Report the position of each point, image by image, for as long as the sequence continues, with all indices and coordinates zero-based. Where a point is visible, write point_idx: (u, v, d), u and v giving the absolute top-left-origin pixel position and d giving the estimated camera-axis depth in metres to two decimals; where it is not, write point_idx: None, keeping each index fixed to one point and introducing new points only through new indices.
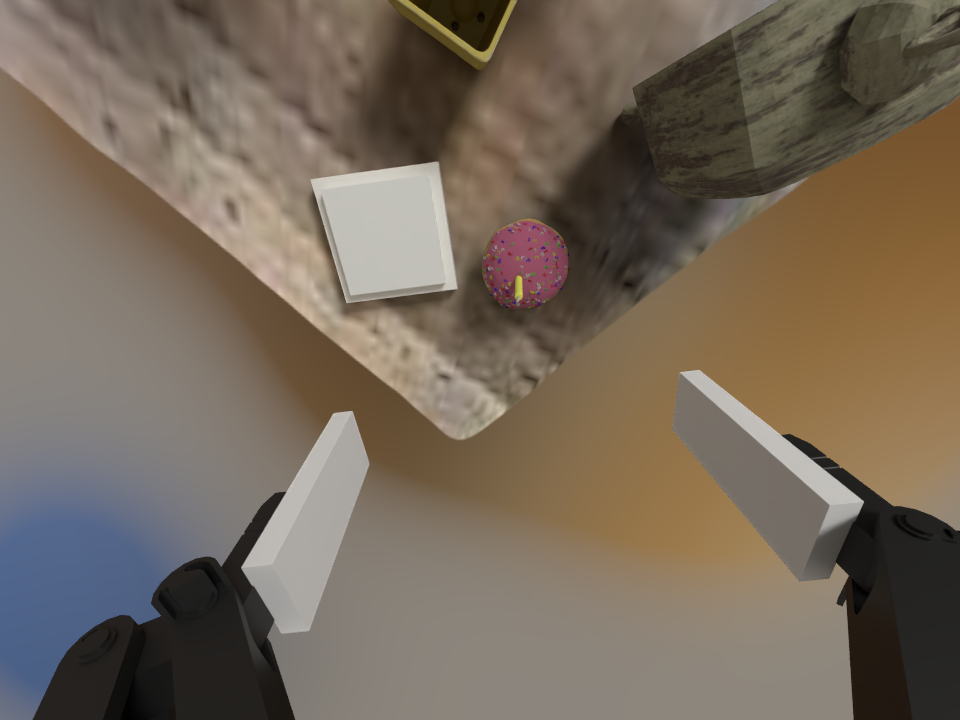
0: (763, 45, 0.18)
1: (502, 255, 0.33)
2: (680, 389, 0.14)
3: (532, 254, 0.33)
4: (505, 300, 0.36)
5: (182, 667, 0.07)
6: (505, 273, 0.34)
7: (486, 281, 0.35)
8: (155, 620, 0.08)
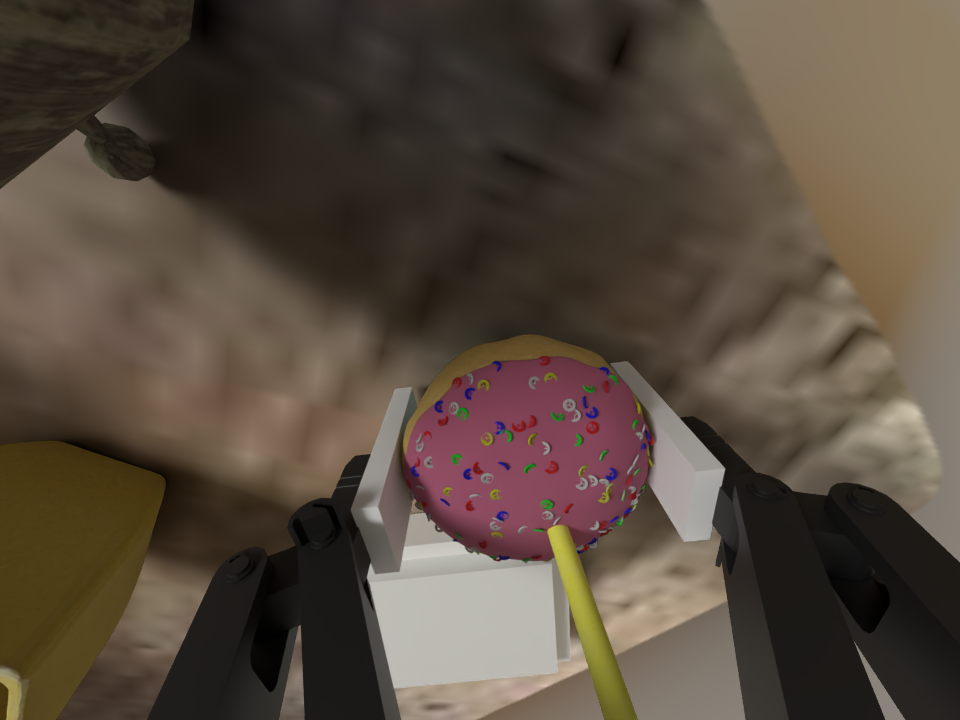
0: None
1: (489, 552, 0.12)
2: None
3: (484, 502, 0.11)
4: (616, 522, 0.13)
5: (306, 587, 0.08)
6: (538, 552, 0.12)
7: None
8: (277, 554, 0.10)
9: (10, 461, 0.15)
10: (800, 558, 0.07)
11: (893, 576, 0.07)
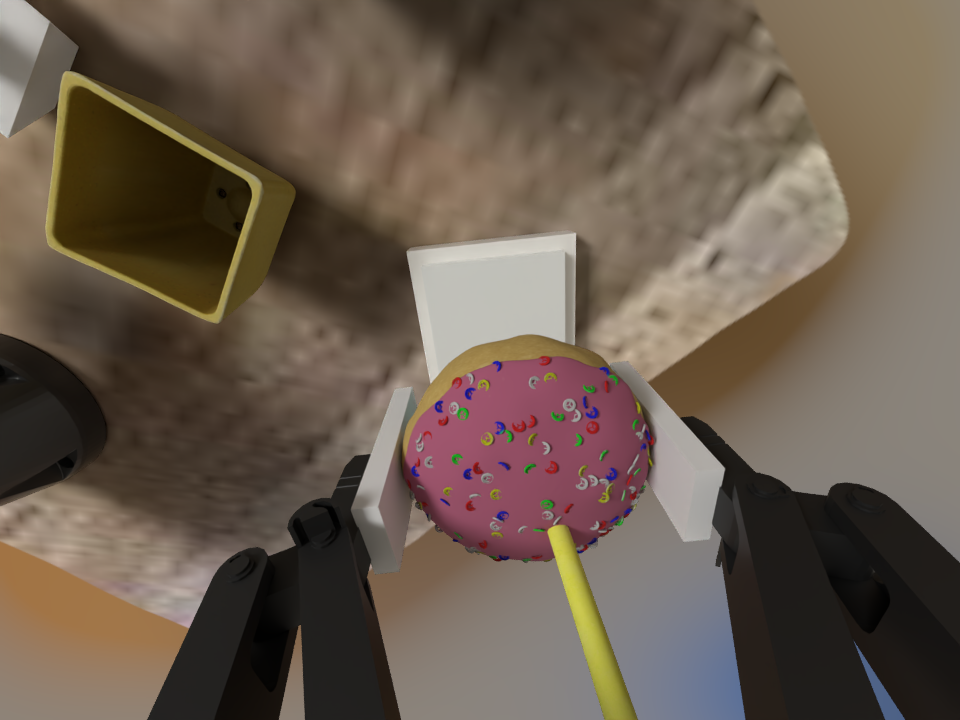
0: None
1: (489, 552, 0.12)
2: None
3: (484, 502, 0.11)
4: (616, 522, 0.13)
5: (306, 587, 0.08)
6: (538, 552, 0.12)
7: None
8: (277, 554, 0.10)
9: None
10: (800, 558, 0.07)
11: (893, 576, 0.07)
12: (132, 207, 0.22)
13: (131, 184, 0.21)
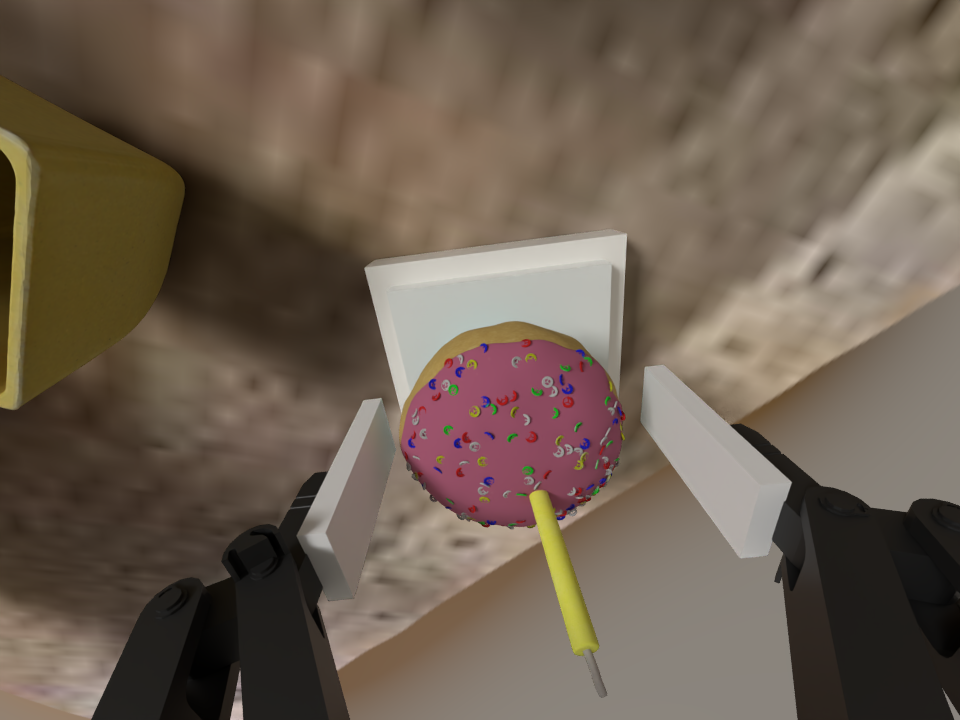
0: None
1: (478, 517, 0.13)
2: (646, 383, 0.15)
3: (472, 469, 0.12)
4: (593, 492, 0.14)
5: (246, 623, 0.08)
6: (522, 516, 0.13)
7: None
8: (218, 584, 0.09)
9: (15, 83, 0.13)
10: (877, 580, 0.07)
11: None
12: None
13: None
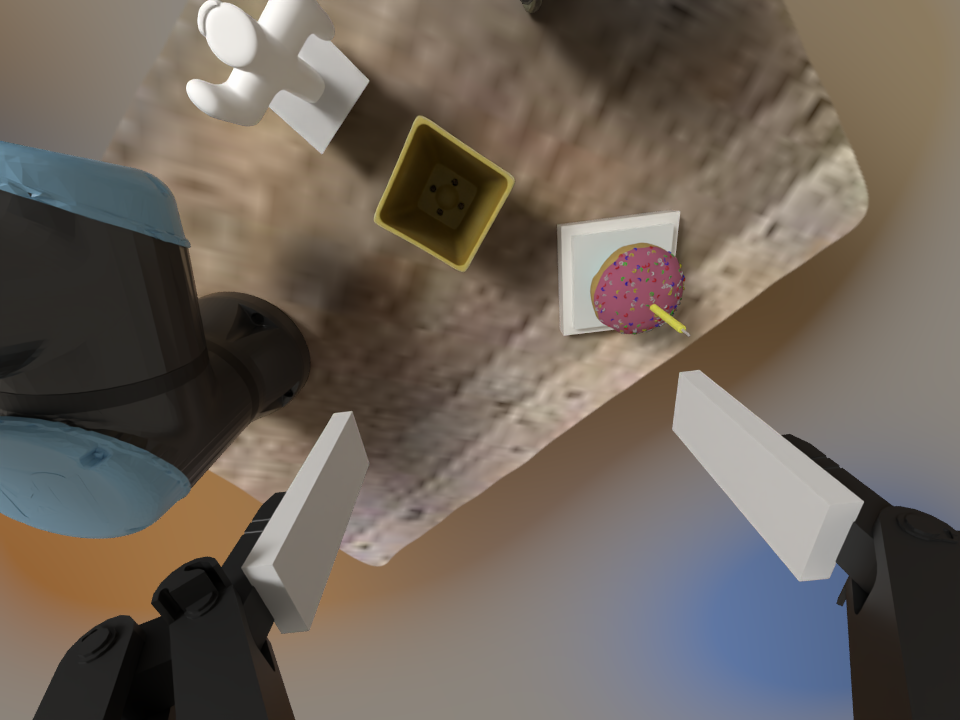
0: None
1: (625, 321, 0.34)
2: (680, 389, 0.14)
3: (630, 294, 0.32)
4: (670, 314, 0.34)
5: (182, 667, 0.07)
6: (644, 319, 0.33)
7: (645, 331, 0.35)
8: (155, 620, 0.08)
9: None
10: None
11: None
12: (398, 198, 0.33)
13: (404, 182, 0.32)
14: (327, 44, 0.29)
